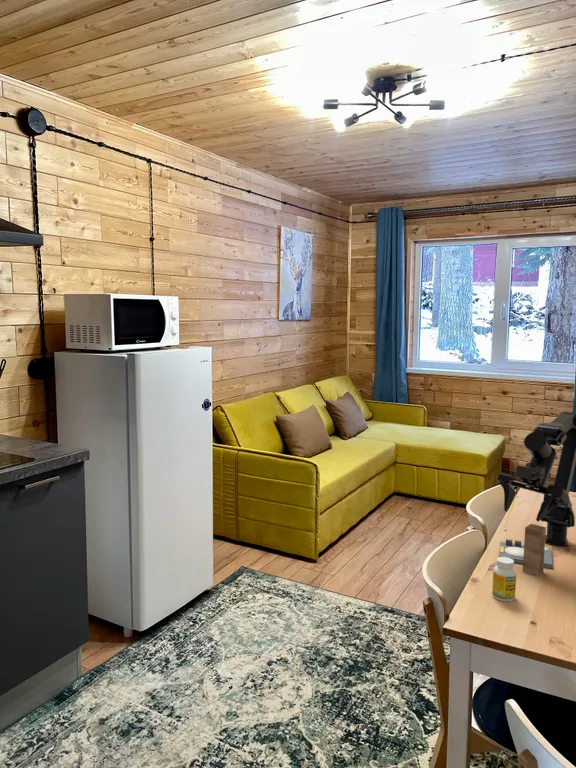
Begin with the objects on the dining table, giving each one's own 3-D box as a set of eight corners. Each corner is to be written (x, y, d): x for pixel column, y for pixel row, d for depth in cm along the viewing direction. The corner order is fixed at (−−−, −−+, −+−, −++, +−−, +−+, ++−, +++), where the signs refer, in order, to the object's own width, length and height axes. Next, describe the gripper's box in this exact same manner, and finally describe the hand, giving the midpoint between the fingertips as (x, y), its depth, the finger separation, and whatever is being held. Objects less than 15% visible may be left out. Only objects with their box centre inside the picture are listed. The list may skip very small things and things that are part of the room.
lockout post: (528, 566, 160) (531, 523, 159) (543, 571, 157) (546, 527, 156) (522, 571, 157) (525, 527, 156) (537, 576, 155) (540, 531, 153)
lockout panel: (500, 545, 175) (500, 536, 175) (550, 552, 170) (551, 543, 170) (498, 560, 164) (499, 551, 164) (552, 568, 159) (552, 559, 159)
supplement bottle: (501, 590, 146) (503, 553, 145) (519, 598, 142) (521, 561, 141) (487, 595, 143) (489, 558, 142) (505, 604, 139) (508, 566, 138)
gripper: (498, 446, 164) (478, 495, 160) (564, 460, 150) (543, 515, 146) (513, 462, 171) (494, 510, 167) (577, 477, 157) (558, 530, 153)
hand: (521, 515), depth 158 cm, fingers open, 9 cm apart
